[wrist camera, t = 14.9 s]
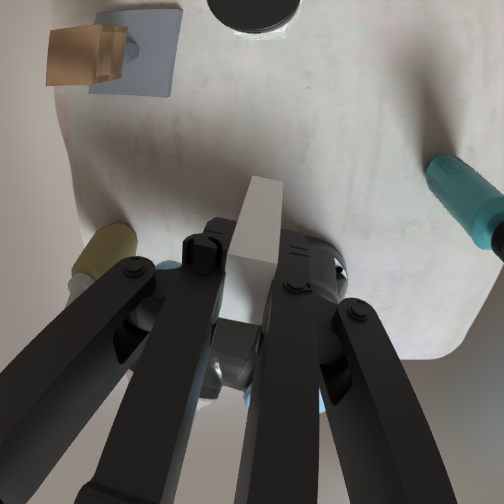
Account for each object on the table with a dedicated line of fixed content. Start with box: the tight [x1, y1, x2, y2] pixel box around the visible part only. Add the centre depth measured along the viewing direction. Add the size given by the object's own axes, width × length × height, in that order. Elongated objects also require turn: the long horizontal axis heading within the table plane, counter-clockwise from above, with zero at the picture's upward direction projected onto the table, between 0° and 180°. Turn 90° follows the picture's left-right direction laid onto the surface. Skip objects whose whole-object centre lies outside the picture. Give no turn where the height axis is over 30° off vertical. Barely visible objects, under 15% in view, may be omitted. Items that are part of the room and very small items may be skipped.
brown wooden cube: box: [46, 24, 128, 86], centre depth 24 cm, size 6×6×6 cm
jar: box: [207, 0, 304, 40], centre depth 24 cm, size 9×8×12 cm
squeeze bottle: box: [65, 223, 138, 308], centre depth 43 cm, size 8×8×18 cm
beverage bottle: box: [426, 154, 504, 262], centre depth 29 cm, size 6×7×20 cm
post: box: [123, 41, 139, 63], centre depth 27 cm, size 3×3×12 cm
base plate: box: [89, 9, 183, 98], centre depth 33 cm, size 12×12×2 cm
